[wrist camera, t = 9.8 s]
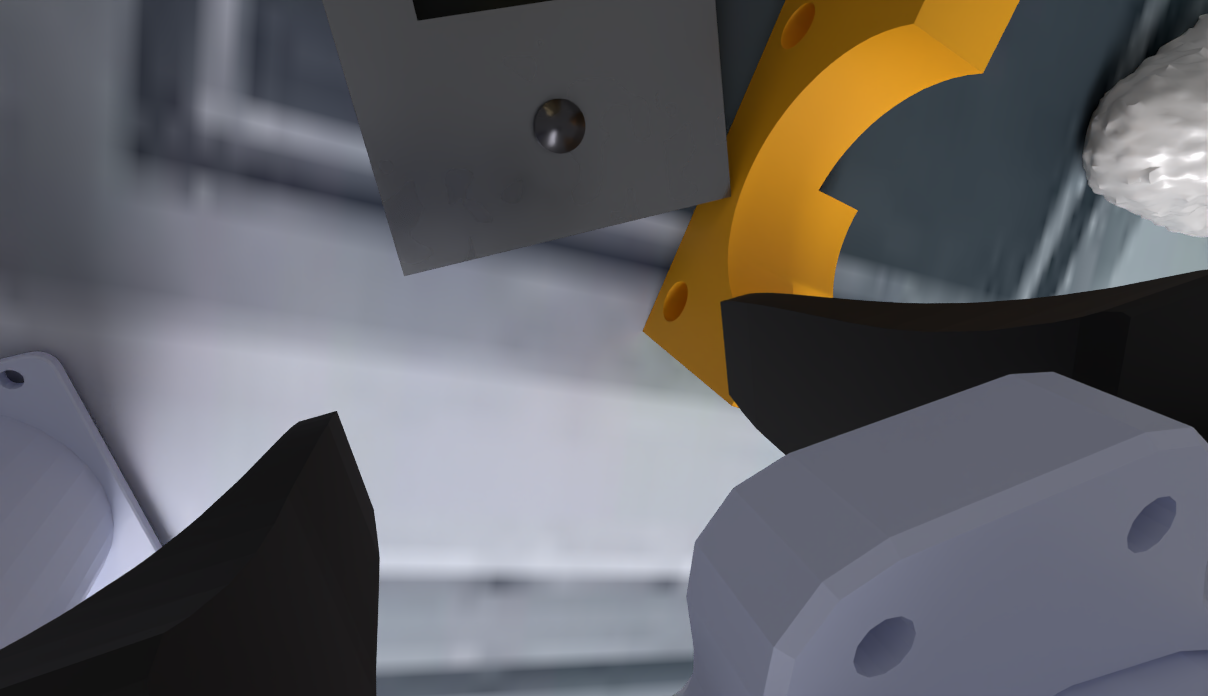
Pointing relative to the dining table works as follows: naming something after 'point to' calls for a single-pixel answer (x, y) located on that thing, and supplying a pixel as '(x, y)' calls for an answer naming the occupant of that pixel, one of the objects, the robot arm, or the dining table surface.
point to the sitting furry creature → (1156, 137)
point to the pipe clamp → (806, 154)
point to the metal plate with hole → (533, 118)
